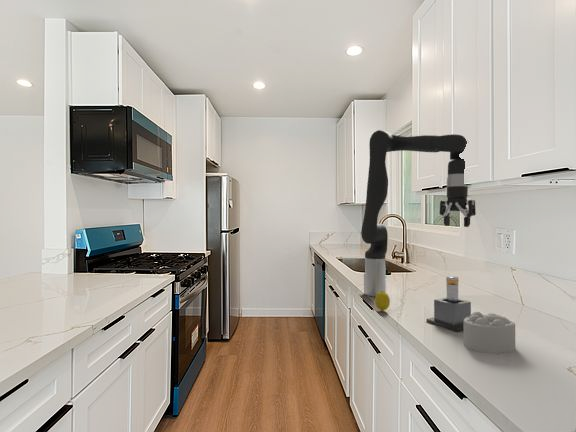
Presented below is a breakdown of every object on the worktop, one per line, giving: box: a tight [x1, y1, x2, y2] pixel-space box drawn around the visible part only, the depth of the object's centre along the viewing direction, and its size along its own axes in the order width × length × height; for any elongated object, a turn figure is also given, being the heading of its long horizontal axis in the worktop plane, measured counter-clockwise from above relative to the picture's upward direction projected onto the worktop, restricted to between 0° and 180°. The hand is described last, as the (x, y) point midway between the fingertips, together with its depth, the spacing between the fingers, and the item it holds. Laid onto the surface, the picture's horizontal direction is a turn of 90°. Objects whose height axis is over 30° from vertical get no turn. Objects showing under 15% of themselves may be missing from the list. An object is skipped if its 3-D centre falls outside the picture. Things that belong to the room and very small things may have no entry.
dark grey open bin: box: [426, 296, 472, 333], centre depth 115 cm, size 12×11×8 cm
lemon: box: [374, 291, 391, 312], centre depth 131 cm, size 6×6×8 cm
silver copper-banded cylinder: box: [445, 275, 459, 303], centre depth 115 cm, size 4×4×14 cm
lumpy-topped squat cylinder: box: [463, 311, 517, 354], centre depth 96 cm, size 10×13×9 cm
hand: (456, 226), depth 135 cm, fingers open, 8 cm apart
